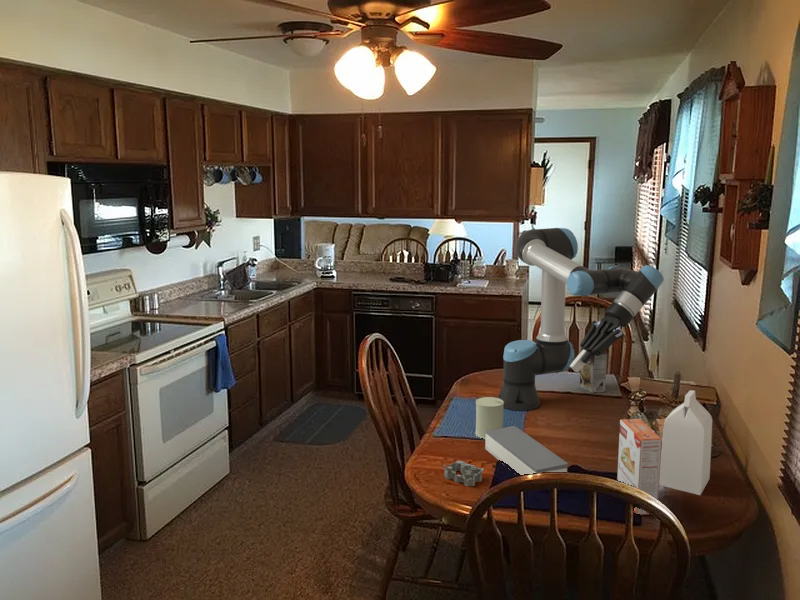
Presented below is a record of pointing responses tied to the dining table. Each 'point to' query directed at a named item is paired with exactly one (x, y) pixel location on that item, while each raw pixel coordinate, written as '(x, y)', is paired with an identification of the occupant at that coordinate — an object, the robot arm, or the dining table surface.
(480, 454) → the dining table surface
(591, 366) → the coffee box
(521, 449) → the cover
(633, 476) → the cracker box
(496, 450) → the hinged pencil box
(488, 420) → the can
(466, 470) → the grey lumpy piece
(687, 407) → the milk
